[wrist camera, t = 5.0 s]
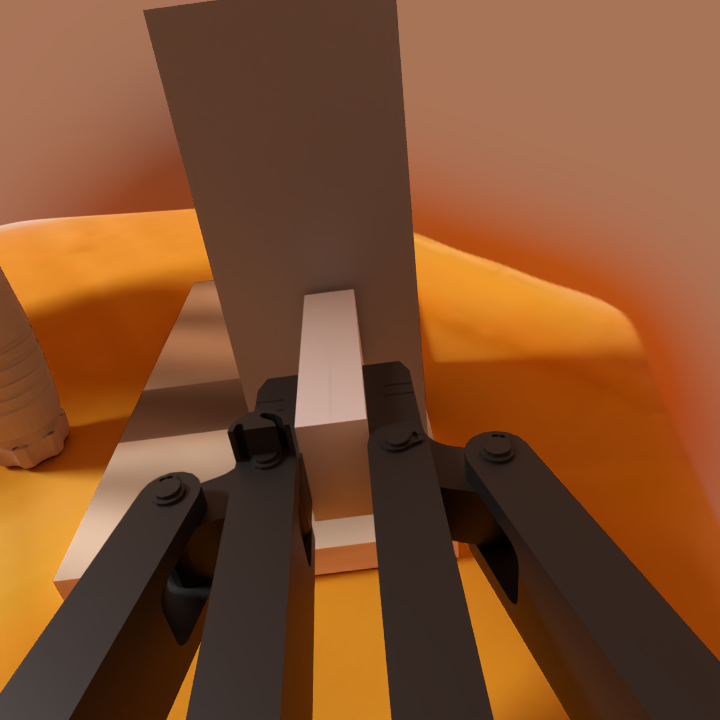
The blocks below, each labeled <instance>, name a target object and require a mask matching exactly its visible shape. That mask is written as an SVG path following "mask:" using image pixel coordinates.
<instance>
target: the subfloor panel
mask: <svg viewBox="0 0 720 720" xmlns="http://www.w3.org/2000/svg"><path fill="white" fill-rule="evenodd" d="M248 413H249V411H248V407H247V403H246V399H245V396H244V392H243V388H242V384H241V380H240V377H239V373H238V369H237V365H236V362H235V358H234V354H233V350H232V346H231V343H230V339H229V335H228V331H227V327H226V324H225V320H224V316H223V312H222V308H221V305H220V301H219V297H218V293H217V289H216V286H215V282H214V280H210V281H203V282H195V283H194V284H193V286H192V288H191V290H190V292H189V295H188V297H187V299H186V301H185V303H184V305H183V307H182V309H181V312H180V314H179V316H178V318H177V320H176V322H175V324H174V326H173V328H172V331H171V333H170V335H169V337H168V339H167V341H166V343H165V345H164V347H163V350H162V352H161V354H160V356H159V358H158V360H157V362H156V364H155V367H154V369H153V371H152V373H151V375H150V377H149V379H148V381H147V383H146V386H145V388H144V390H143V392H142V394H141V396H140V398H139V400H138V402H137V405H136V407H135V409H134V411H133V413H132V415H131V417H130V419H129V422H128V424H127V426H126V428H125V430H124V432H123V434H122V436H121V438H120V441H119V443H118V445H117V447H116V449H115V451H114V453H113V455H112V458H111V460H110V462H109V464H108V466H107V468H106V470H105V472H104V474H103V477H102V479H101V481H100V483H99V485H98V487H97V489H96V491H95V493H94V496H93V498H92V500H91V502H90V504H89V506H88V508H87V510H86V513H85V515H84V517H83V519H82V521H81V523H80V525H79V527H78V529H77V532H76V534H75V536H74V538H73V540H72V542H71V544H70V546H69V548H68V551H67V553H66V555H65V557H64V559H63V561H62V563H61V565H60V568H59V570H58V572H57V574H56V576H55V578H54V580H53V583H54V584H55V586H56V588H57V590H58V591H59V593H60V595H61V596H62V598H63V600H64V601H65V599H66V598H67V597H68V595H69V594H70V592H71V591H72V589H73V588H74V586H75V585H76V584H77V582H78V581H79V579H80V578H81V576H82V575H83V574H84V572H85V571H86V569H87V568H88V566H89V565H90V563H91V562H92V561H93V559H94V558H95V556H96V555H97V553H98V552H99V550H100V549H101V548H102V546H103V545H104V543H105V542H106V540H107V539H108V538H109V536H110V535H111V533H112V532H113V530H114V529H115V527H116V526H117V525H118V523H119V522H120V520H121V519H122V517H123V516H124V514H125V513H126V512H127V510H128V509H129V507H130V506H131V504H132V503H133V501H134V500H135V499H136V497H137V496H138V494H139V493H140V492H141V490H142V489H143V488H144V487H145V486H146V485H147V484H148V483H150V482H151V481H153V480H155V479H156V478H158V477H160V476H163V475H166V474H169V473H172V472H187V473H192V474H194V475H195V476H196V477H197V478H199V480H200V483H202V482H205V481H208V480H211V479H214V478H216V477H219V476H221V475H223V474H226V473H228V472H229V471H231V470H232V469H234V468H235V464H236V461H235V457H234V454H233V450H232V447H231V444H230V440H229V437H228V433H227V431H228V429H229V428H230V426H231V424H232V423H233V422H235V421H236V420H237V419H238V418H239V417H241V416H243V415H245V414H248ZM426 415H427V428H428V436H429V437H430V438H431V439H433V440H434V437H433V433H432V429H431V425H430V421H429V417H428V413H427V410H426ZM312 527H313V531H314V536H315V575H320V574H328V573H336V572H344V571H352V570H361V569H369V568H377V567H378V561H377V550H376V539H375V528H374V516H373V515H364V516H356V517H348V518H340V519H331V520H323V521H315V520H314V515H313V510H312ZM452 543H453V547H454V551H455V556H456V558H458V557H459V547H458V542H457V541H452Z"/></svg>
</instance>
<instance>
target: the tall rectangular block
mask: <svg viewBox="0 0 720 720" xmlns="http://www.w3.org/2000/svg"><path fill="white" fill-rule="evenodd" d="M143 12H144V15H145V20H146V23H147V27H148V31H149V35H150V39H151V42H152V46H153V50H154V54H155V58H156V61H157V65H158V69H159V73H160V77H161V80H162V84H163V88H164V92H165V95H166V99H167V103H168V107H169V111H170V115H171V118H172V122H173V126H174V130H175V134H176V137H177V141H178V145H179V149H180V153H181V156H182V160H183V164H184V168H185V171H186V175H187V179H188V183H189V187H190V190H191V194H192V198H193V202H194V206H195V210H196V213H197V217H198V221H199V225H200V229H201V232H202V236H203V240H204V244H205V248H206V251H207V255H208V259H209V263H210V267H211V270H212V274H213V278H214V282H215V286H216V289H217V293H218V297H219V301H220V305H221V308H222V312H223V316H224V320H225V324H226V327H227V331H228V335H229V339H230V343H231V346H232V350H233V354H234V358H235V362H236V365H237V369H238V373H239V377H240V380H241V384H242V388H243V392H244V396H245V399H246V403H247V407H248V411H249V413H250V412H254V410H255V405H256V398H257V393H258V390H259V389H260V387H261V386H262V385H263V384H264V382H265V381H266V380H267V379H269V378H277V377H285V376H293V375H298V374H299V361H300V347H301V334H302V321H303V308H304V295H311V294H318V293H326V292H334V291H342V290H350V289H354V295H355V302H356V310H357V317H358V325H359V332H360V340H361V347H362V355H363V362H364V365H370V364H378V363H386V362H394V361H400V362H401V363H402V364H403V365H404V366H406V367H407V368H408V369H409V370H410V374H411V379H412V384H413V387H414V392H415V396H416V401H417V405H418V409H419V414H420V418H421V422H422V427H423V429H424V431H425V433H426V434H427V435H428V428H427V415H426V401H425V387H424V374H423V360H422V346H421V333H420V319H419V305H418V292H417V278H416V264H415V251H414V237H413V224H412V210H411V196H410V182H409V169H408V156H407V141H406V128H405V114H404V102H403V88H402V73H401V60H400V46H399V32H398V18H397V5H396V0H215V1H207V2H200V3H193V4H185V5H178V6H171V7H164V8H156V9H149V10H143Z"/></svg>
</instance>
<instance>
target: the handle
mask: <svg viewBox="0 0 720 720" xmlns="http://www.w3.org/2000/svg"><path fill="white" fill-rule="evenodd" d="M69 432H70V429H69V424H68V420H67V417H66V414H65V411H64V410H63V409H62V408H60V401H59V397H58V393H57V389H56V386H55V383H54V380H53V377H52V375H51V372H50V369H49V366H48V365H47V361H46V359H45V356H44V353H43V352H42V349H41V346H40V344H39V342H38V340H37V338H36V335H35V333H34V330H33V328H32V326H31V325H30V322H29V319H28V317H27V316H26V314H25V312H24V310H23V308H22V306H21V304H20V303H19V301H18V299H17V297H16V295H15V293H14V291H13V290H12V288H11V286H10V284H9V282H8V280H7V278H6V277H5V275H4V273H3V271H2V269H1V267H0V465H1V466H5V467H8V466H20V467H22V468H24V469H28V468H32V467H35V466H36V465H37V464H38V463H40V462H41V461H43V460H45V459H47V458H49V457H52V456H56V455H58V454H59V453H60V452H61V451H62V450H63V449H64V444H63V442H64V440H65V438H66V437H67V436H68V435H69Z"/></svg>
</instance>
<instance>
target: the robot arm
mask: <svg viewBox="0 0 720 720" xmlns="http://www.w3.org/2000/svg"><path fill="white" fill-rule="evenodd" d="M227 433H228V437H229V440H230V444H231V447H232V450H233V454H234V457H235V461H236V464H235V468H234V469H232V470H231V471H229V472H228V473H226V474H223V475H221V476H219V477H216V478H214V479H211V480H208V481H205V482H202V483H200V480H199V478H197V477H196V476H195V475H194V474H192V473H187V472H172V473H169V474H166V475H163V476H160V477H158V478H156V479H155V480H153V481H151V482H150V483H148V484H147V485H146V486H145V487H144V488H143V489H142V490H141V492H140V493H139V494H138V496H137V497H136V499H135V500H134V501H133V503H132V504H131V506H130V507H129V509H128V510H127V512H126V513H125V514H124V516H123V517H122V519H121V520H120V522H119V523H118V525H117V526H116V527H115V529H114V530H113V532H112V533H111V535H110V536H109V538H108V539H107V540H106V542H105V543H104V545H103V546H102V548H101V549H100V550H99V552H98V553H97V555H96V556H95V558H94V559H93V561H92V562H91V563H90V565H89V566H88V568H87V569H86V571H85V572H84V574H83V575H82V576H81V578H80V579H79V581H78V582H77V584H76V585H75V586H74V588H73V589H72V591H71V592H70V594H69V595H68V597H67V598H66V599H65V601H64V602H63V604H62V605H61V607H60V608H59V610H58V611H57V612H56V614H55V615H54V617H53V618H52V620H51V621H50V622H49V624H48V625H47V627H46V628H45V630H44V631H43V633H42V634H41V635H40V637H39V638H38V640H37V641H36V643H35V644H34V646H33V647H32V648H31V650H30V651H29V653H28V654H27V656H26V657H25V658H24V660H23V661H22V663H21V664H20V666H19V667H18V669H17V670H16V671H15V673H14V674H13V676H12V677H11V679H10V680H9V682H8V683H7V684H6V686H5V687H4V689H3V690H2V692H1V693H0V720H166V719H167V717H168V714H169V712H170V710H171V708H172V705H173V703H174V701H175V699H176V696H177V694H178V692H179V690H180V687H181V685H182V683H183V681H184V678H185V676H186V674H187V672H188V669H189V667H190V665H191V663H192V660H193V658H194V656H195V654H196V651H197V649H198V647H199V645H200V642H201V645H200V650H199V655H198V660H197V665H196V670H195V676H194V681H193V686H192V691H191V696H190V701H189V707H188V712H187V717H186V720H312V713H313V652H314V590H315V536H314V531H313V527H312V510H313V515H314V520H315V521H323V520H331V519H340V518H348V517H356V516H364V515H373V516H374V528H375V539H376V550H377V561H378V572H379V584H380V595H381V606H382V617H383V628H384V640H385V651H386V662H387V673H388V684H389V696H390V707H391V718H392V720H494V719H493V715H492V711H491V706H490V702H489V698H488V693H487V689H486V685H485V680H484V676H483V672H482V668H481V663H480V659H479V655H478V650H477V646H476V642H475V637H474V633H473V629H472V625H471V620H470V616H469V612H468V607H467V603H466V599H465V594H464V590H463V586H462V581H461V577H460V573H459V569H458V564H457V560H456V556H455V551H454V547H453V543H452V541H457V542H463V543H468V545H469V548H470V551H471V552H472V554H473V556H474V557H475V559H476V561H477V563H478V564H479V566H480V568H481V569H482V571H483V573H484V574H485V576H486V578H487V579H488V581H489V583H490V584H491V586H492V588H493V590H494V591H495V593H496V595H497V596H498V598H499V600H500V601H501V603H502V605H503V606H504V608H505V610H506V611H507V613H508V615H509V617H510V618H511V620H512V622H513V623H514V625H515V627H516V628H517V630H518V632H519V633H520V635H521V637H522V638H523V640H524V642H525V643H526V645H527V647H528V649H529V650H530V652H531V654H532V655H533V657H534V659H535V660H536V662H537V664H538V665H539V667H540V669H541V670H542V672H543V674H544V676H545V677H546V679H547V681H548V682H549V684H550V686H551V687H552V689H553V691H554V692H555V694H556V696H557V697H558V699H559V701H560V703H561V704H562V706H563V708H564V709H565V711H566V713H567V714H568V716H569V718H570V719H571V720H720V662H719V660H718V659H717V658H716V657H715V656H714V655H713V654H712V652H711V651H710V650H709V649H708V648H707V647H706V646H705V645H704V643H703V642H702V641H701V640H700V639H699V638H698V637H697V636H696V634H695V633H694V632H693V631H692V630H691V629H690V628H689V626H688V625H687V624H686V623H685V622H684V621H683V620H682V619H681V617H680V616H679V615H678V614H677V613H676V612H675V611H674V609H673V608H672V607H671V606H670V605H669V604H668V603H667V602H666V600H665V599H664V598H663V597H662V596H661V595H660V594H659V592H658V591H657V590H656V589H655V588H654V587H653V586H652V585H651V583H650V582H649V581H648V580H647V579H646V578H645V577H644V576H643V574H642V573H641V572H640V571H639V570H638V569H637V568H636V566H635V565H634V564H633V563H632V562H631V561H630V560H629V559H628V557H627V556H626V555H625V554H624V553H623V552H622V551H621V549H620V548H619V547H618V546H617V545H616V544H615V543H614V542H613V540H612V539H611V538H610V537H609V536H608V535H607V534H606V532H605V531H604V530H603V529H602V528H601V527H600V526H599V525H598V523H597V522H596V521H595V520H594V519H593V518H592V517H591V516H590V514H589V513H588V512H587V511H586V510H585V509H584V508H583V506H582V505H581V504H580V503H579V502H578V501H577V500H576V499H575V497H574V496H573V495H572V494H571V493H570V492H569V491H568V489H567V488H566V487H565V486H564V485H563V484H562V483H561V482H560V480H559V479H558V478H557V477H556V476H555V475H554V474H553V472H552V471H551V470H550V469H549V468H548V467H547V466H546V465H545V463H544V462H543V461H542V460H541V459H540V458H539V457H538V456H537V454H536V453H535V452H534V451H533V450H532V449H531V448H530V446H529V445H528V444H527V443H526V442H525V441H523V440H522V439H521V438H519V437H518V436H515V435H513V434H510V433H507V432H497V431H492V432H486V433H481V434H479V435H477V436H475V437H473V438H472V439H471V440H470V441H469V442H468V443H467V444H466V447H465V448H463V447H453V446H448V445H444V444H441V443H438V442H436V441H434V440H433V439H431V438H430V437H429V436H428V435H427V434H426V433H425V431H424V429H423V427H422V422H421V418H420V414H419V409H418V405H417V401H416V396H415V392H414V387H413V384H412V379H411V374H410V370H409V369H408V368H407V367H406V366H404V365H403V364H402V363H401V362H400V361H394V362H386V363H378V364H370V365H364V362H363V355H362V347H361V340H360V332H359V325H358V317H357V310H356V302H355V295H354V289H350V290H342V291H334V292H326V293H318V294H311V295H304V308H303V321H302V334H301V347H300V361H299V374H298V375H293V376H285V377H277V378H269V379H267V380H266V381H265V382H264V384H263V385H262V386H261V387H260V389H259V390H258V393H257V398H256V405H255V410H254V412H250V413H248V414H245V415H243V416H241V417H239V418H238V419H237V420H236V421H235V422H233V423H232V424H231V426H230V428H229V429H228V431H227Z"/></svg>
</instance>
